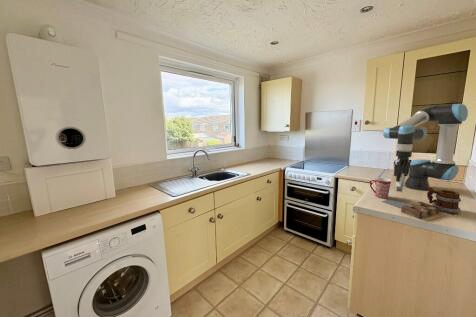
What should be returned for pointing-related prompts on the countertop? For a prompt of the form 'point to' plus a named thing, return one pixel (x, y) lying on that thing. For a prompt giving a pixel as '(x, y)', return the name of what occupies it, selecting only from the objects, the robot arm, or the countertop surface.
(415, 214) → the hole block
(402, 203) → the mat
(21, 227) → the countertop surface
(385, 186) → the mug
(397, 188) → the peg
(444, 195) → the mug
